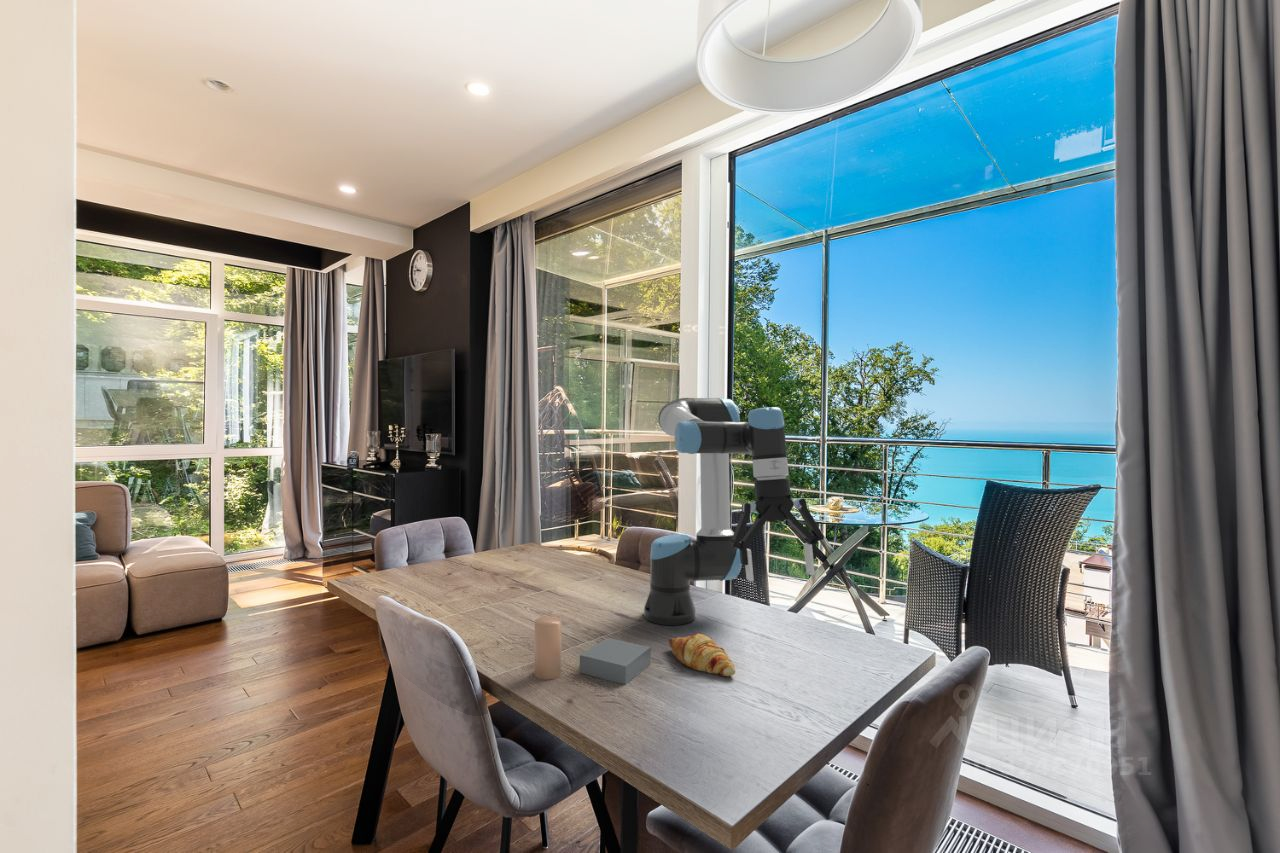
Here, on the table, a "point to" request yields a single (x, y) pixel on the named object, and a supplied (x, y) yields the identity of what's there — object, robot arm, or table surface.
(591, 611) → the table surface
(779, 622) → the table surface
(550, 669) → the canister
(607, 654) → the pedestal
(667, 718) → the table surface
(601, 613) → the table surface
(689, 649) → the croissant
